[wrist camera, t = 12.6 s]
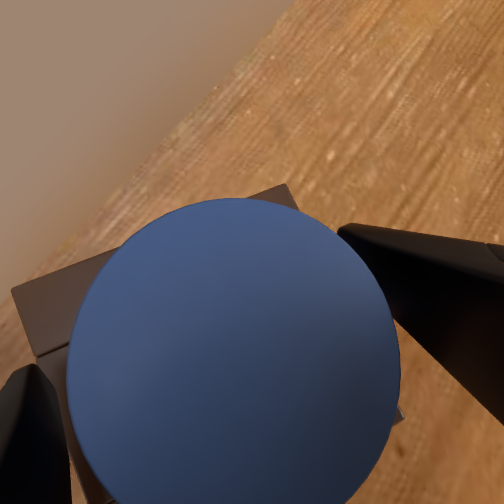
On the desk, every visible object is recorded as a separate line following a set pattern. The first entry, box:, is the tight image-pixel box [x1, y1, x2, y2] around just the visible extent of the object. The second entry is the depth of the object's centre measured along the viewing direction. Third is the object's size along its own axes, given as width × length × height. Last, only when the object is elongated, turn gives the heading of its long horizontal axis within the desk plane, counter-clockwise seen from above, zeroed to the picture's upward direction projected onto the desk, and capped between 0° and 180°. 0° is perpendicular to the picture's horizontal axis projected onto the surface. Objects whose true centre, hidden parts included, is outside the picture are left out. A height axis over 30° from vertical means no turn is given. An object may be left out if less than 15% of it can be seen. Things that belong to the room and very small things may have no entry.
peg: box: [66, 198, 401, 504], centre depth 11 cm, size 6×6×10 cm
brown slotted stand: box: [11, 184, 405, 504], centre depth 15 cm, size 8×8×10 cm
